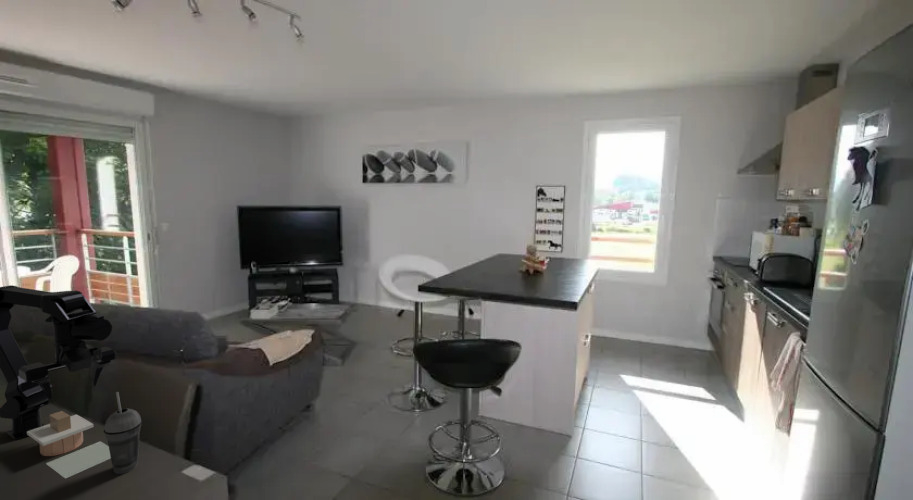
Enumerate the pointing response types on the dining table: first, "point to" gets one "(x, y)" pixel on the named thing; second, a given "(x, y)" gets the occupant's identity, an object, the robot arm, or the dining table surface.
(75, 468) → the mat
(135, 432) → the beverage cup
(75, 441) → the segmented pink ring
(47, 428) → the cover sheet
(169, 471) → the dining table surface
